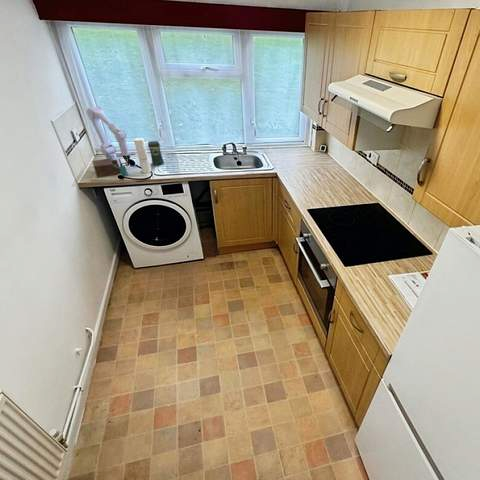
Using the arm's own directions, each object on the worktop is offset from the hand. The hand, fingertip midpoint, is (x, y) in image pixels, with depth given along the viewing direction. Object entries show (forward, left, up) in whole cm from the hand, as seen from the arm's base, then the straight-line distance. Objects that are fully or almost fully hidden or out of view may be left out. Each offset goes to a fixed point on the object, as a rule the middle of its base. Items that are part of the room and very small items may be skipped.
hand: (128, 164), depth 244 cm
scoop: (+13, +3, -4) cm, 14 cm away
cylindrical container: (-2, +15, -4) cm, 16 cm away
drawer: (+7, -6, -3) cm, 10 cm away
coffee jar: (-21, +13, -4) cm, 25 cm away
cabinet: (+13, -13, -4) cm, 19 cm away
